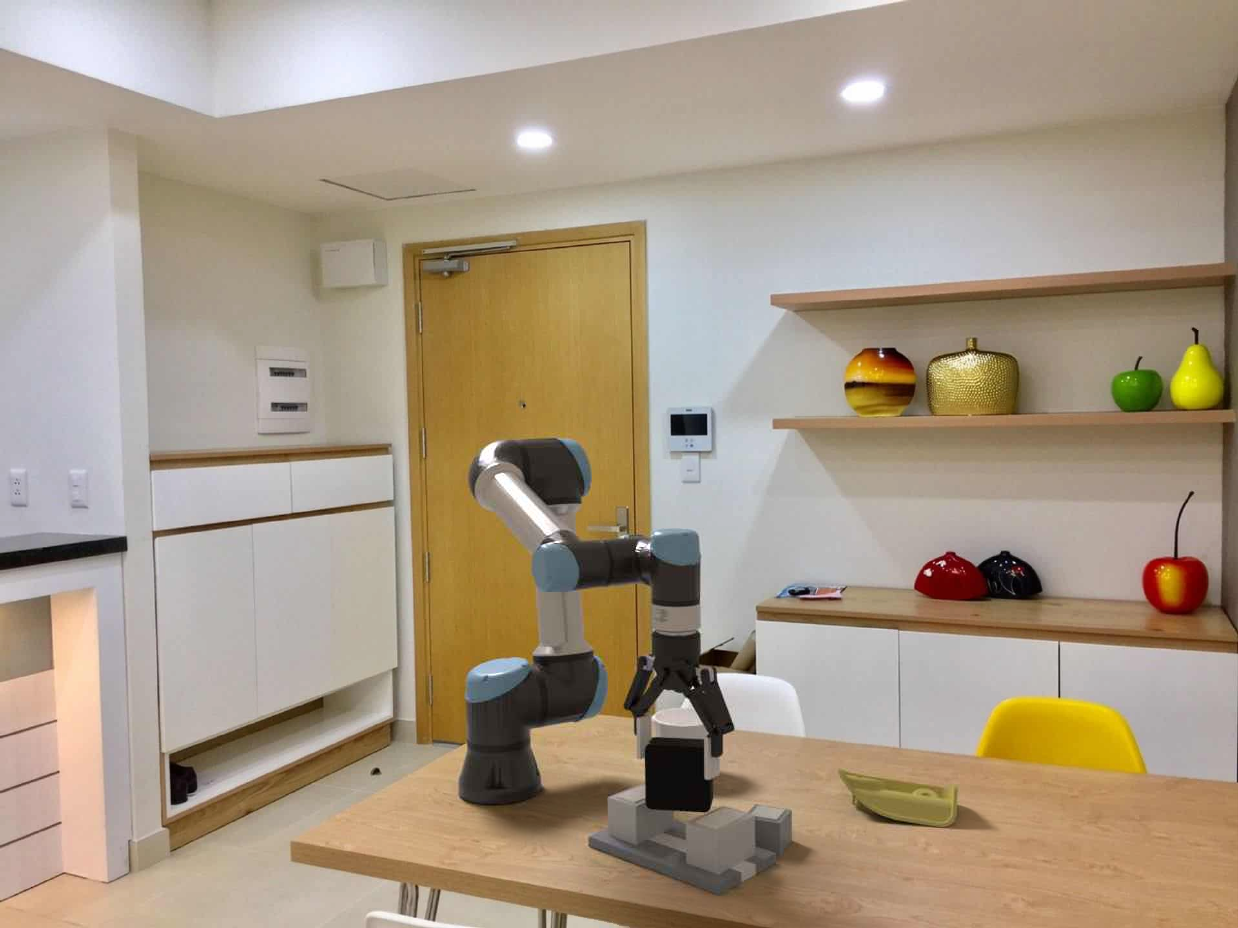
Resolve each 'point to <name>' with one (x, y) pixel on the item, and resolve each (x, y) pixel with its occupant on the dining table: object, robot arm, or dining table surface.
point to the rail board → (683, 842)
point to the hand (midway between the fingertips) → (677, 766)
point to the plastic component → (903, 799)
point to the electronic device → (676, 775)
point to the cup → (679, 724)
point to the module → (772, 827)
